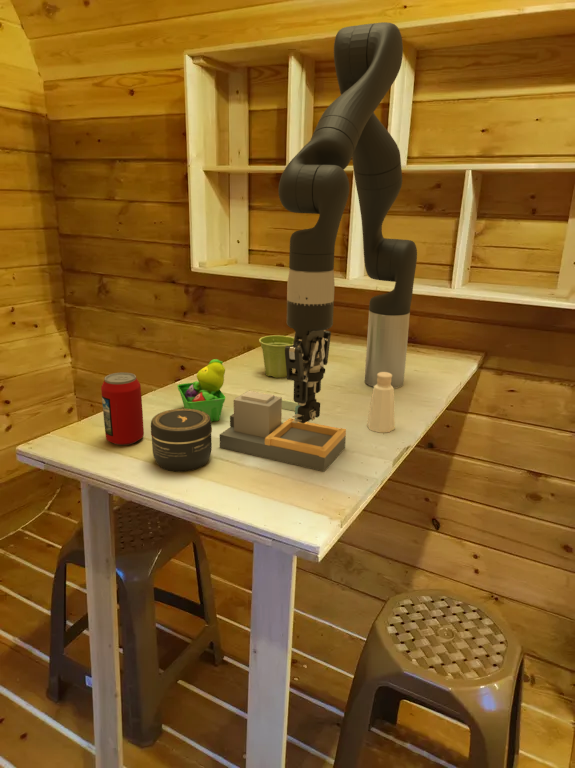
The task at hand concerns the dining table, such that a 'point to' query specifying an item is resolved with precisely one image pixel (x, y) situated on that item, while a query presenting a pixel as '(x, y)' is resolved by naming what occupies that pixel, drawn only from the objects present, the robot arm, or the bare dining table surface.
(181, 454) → the jar
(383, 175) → the robot arm
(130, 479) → the dining table surface
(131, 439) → the beverage can
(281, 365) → the plant pot
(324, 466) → the gray stepped base block
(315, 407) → the black and tan cylinder
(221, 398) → the fruit basket
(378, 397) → the pepper shaker
